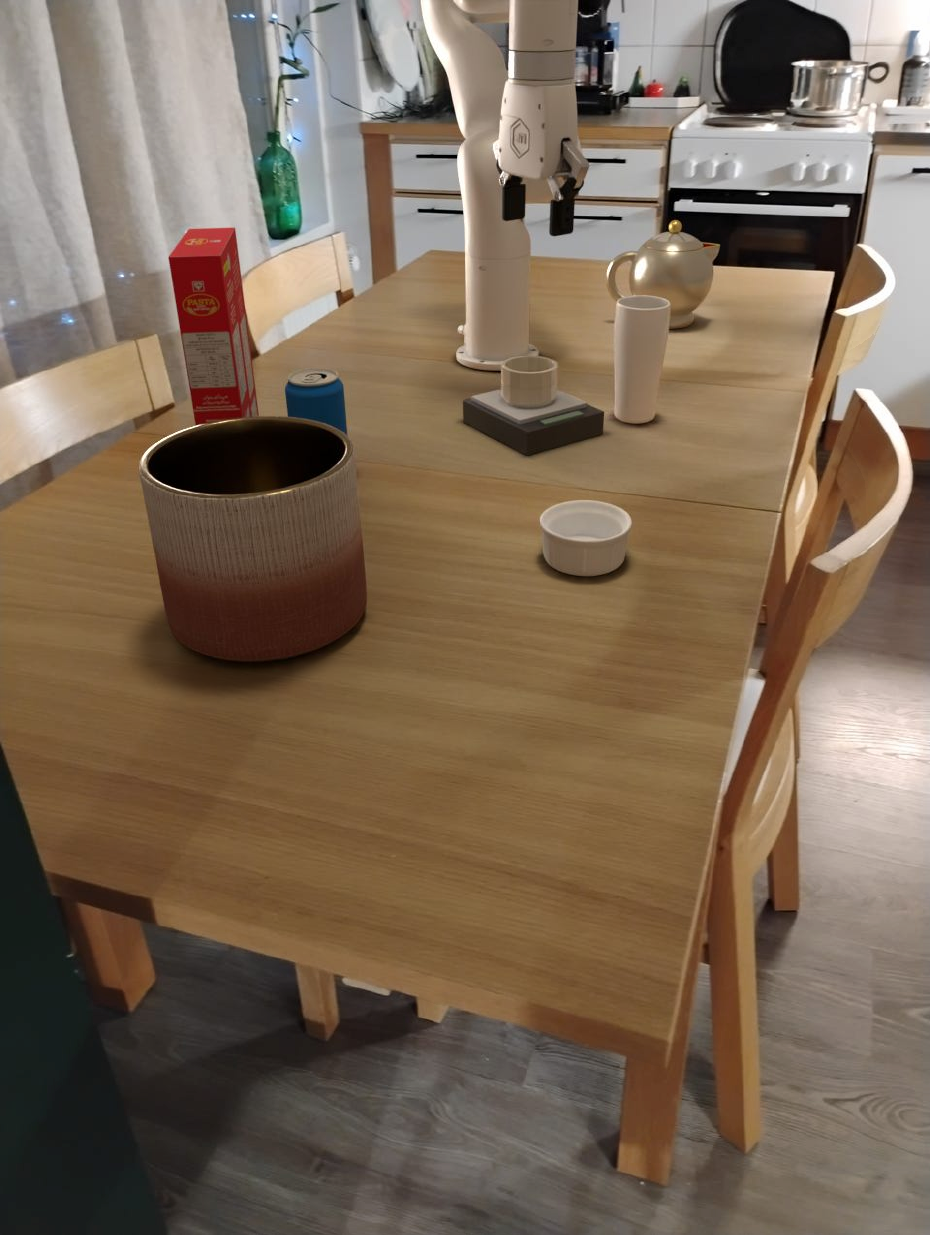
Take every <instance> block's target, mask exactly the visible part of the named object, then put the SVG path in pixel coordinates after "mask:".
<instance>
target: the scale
mask: <svg viewBox="0 0 930 1235" xmlns="http://www.w3.org/2000/svg"><path fill="white" fill-rule="evenodd" d="M462 422H463V423H465V424H466V425H469V426H470V427H473V428H474V429H476V430H477V431H480V432H482V433H484V434H485V435H487V436H489V437H491V438H492V439H495V440H497V441H498V442H501V443H503V444H504V445H507V446H508V447H510V448H512V449H514V450H516V451H517V452H520V453H521V454H523V455H524V456H527V457H528V456H532V455H535V454H538V453H542V452H546V451H549V450H552V449H556V448H559V447H562V446H566V445H569V444H570V445H571V444H574V443H577V442H581V441H585V440H587V439H591V438H595V437H597V436H601V435H604V425H605V424H604V422H605V411H604V410H603V409H602V410H601V409H600V408H597V407H594V406H592V405H590V404H589V403H588V402H587V401H585V400H583V399H581V398H578V397H576V396H573V395H571V394H569V393H567V392H565V391H562V390H560V389H557V396H556V398H555V399H554V400H553V401H552V402H551V403H550V404H548V405H546V406H542V407H536V408H522V407H516V406H513V405H510V404H508V403H507V402H506V401H505V399H503V397H502V396H501V388H500V389H496V390H492V391H487V392H483V393H479V394H475V395H471V397H469V398H465V399H463V400H462Z"/></svg>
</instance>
